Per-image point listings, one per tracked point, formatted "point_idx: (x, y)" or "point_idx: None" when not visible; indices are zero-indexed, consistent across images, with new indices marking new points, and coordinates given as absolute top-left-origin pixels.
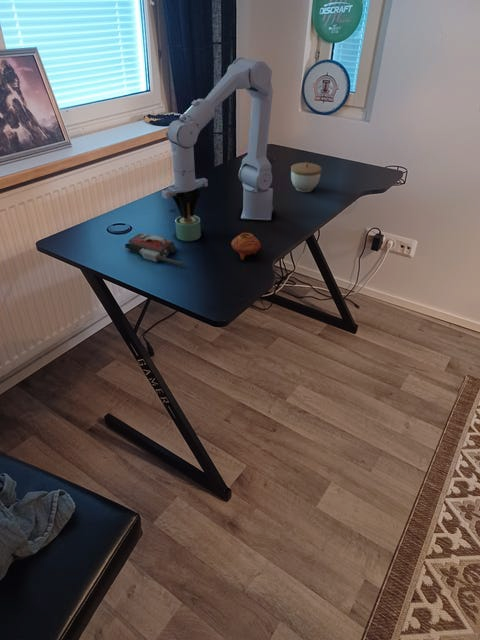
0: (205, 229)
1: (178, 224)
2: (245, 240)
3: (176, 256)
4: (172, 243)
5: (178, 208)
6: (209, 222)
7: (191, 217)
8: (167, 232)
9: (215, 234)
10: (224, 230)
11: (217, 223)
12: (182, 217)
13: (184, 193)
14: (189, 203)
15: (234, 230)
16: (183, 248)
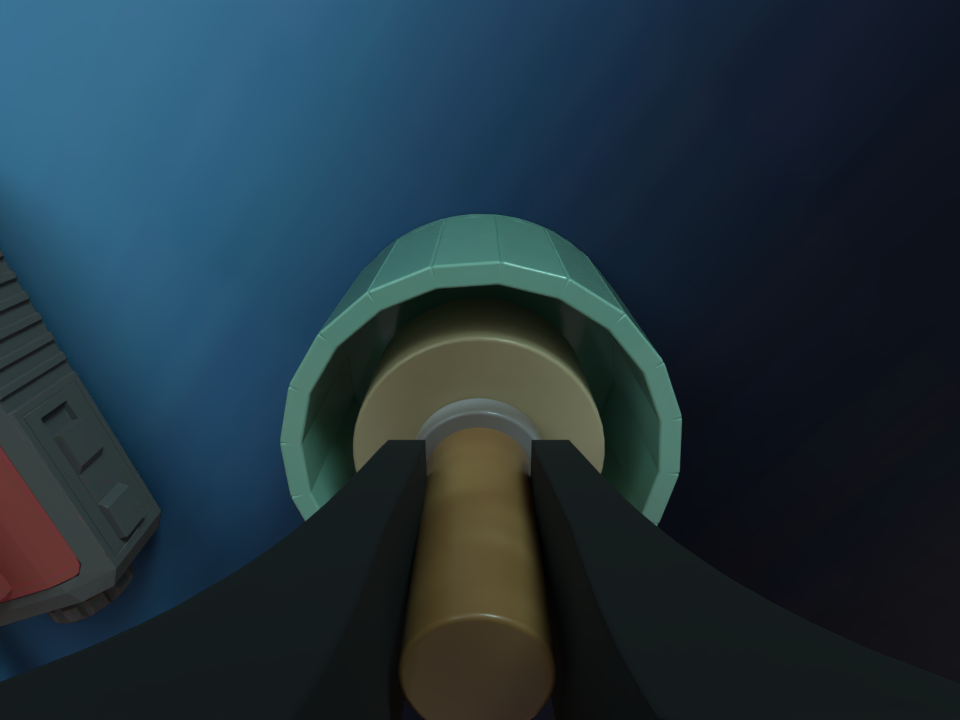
0: (732, 362)
1: (289, 466)
2: None
3: (129, 599)
4: (90, 590)
5: (320, 514)
6: (924, 246)
7: (589, 424)
8: (330, 97)
9: (708, 518)
10: (845, 512)
11: (956, 336)
12: (511, 282)
13: (621, 711)
14: (541, 708)
15: (907, 573)
16: (264, 532)
